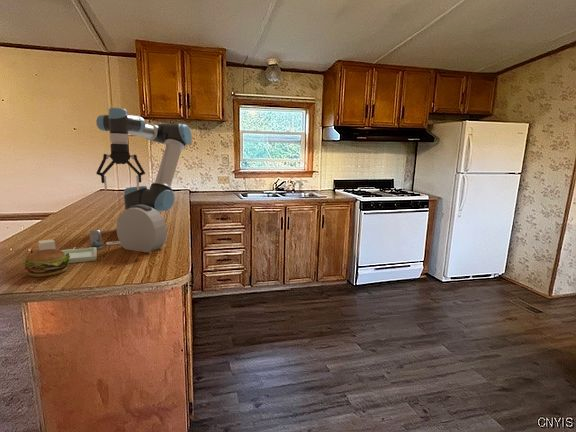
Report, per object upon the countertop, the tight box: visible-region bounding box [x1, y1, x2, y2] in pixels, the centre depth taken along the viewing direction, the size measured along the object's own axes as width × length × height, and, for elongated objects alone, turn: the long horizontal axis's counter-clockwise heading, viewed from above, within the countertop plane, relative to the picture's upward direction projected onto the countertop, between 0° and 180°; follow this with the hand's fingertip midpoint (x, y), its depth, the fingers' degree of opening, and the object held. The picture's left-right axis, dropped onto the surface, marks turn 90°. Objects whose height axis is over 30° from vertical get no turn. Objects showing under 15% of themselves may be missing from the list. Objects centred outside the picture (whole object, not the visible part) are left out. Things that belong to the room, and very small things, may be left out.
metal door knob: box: [89, 228, 104, 251], centre depth 153 cm, size 5×5×8 cm
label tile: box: [106, 240, 121, 246], centre depth 162 cm, size 6×4×1 cm, turn 118°
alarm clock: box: [116, 204, 168, 253], centre depth 154 cm, size 21×8×20 cm, turn 71°
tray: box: [60, 247, 98, 264], centre depth 140 cm, size 14×14×2 cm
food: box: [22, 248, 70, 278], centre depth 123 cm, size 14×14×8 cm
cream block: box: [37, 238, 57, 251], centre depth 145 cm, size 5×5×5 cm
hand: (122, 189), depth 162 cm, fingers open, 13 cm apart
